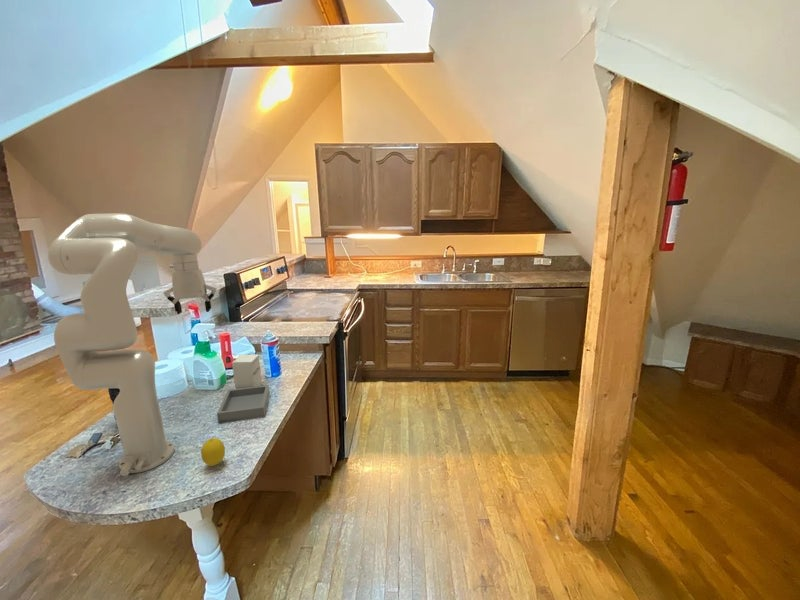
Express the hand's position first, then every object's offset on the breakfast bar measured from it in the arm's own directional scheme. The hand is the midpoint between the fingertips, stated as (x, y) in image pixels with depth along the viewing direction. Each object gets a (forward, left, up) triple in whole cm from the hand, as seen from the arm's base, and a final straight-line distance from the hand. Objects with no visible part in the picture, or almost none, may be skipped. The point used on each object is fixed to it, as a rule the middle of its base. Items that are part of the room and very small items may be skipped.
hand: (194, 312), depth 134 cm
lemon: (-51, -15, -30) cm, 61 cm away
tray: (-22, -18, -30) cm, 41 cm away
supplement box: (-8, -17, -30) cm, 36 cm away
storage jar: (-21, +16, -30) cm, 40 cm away
